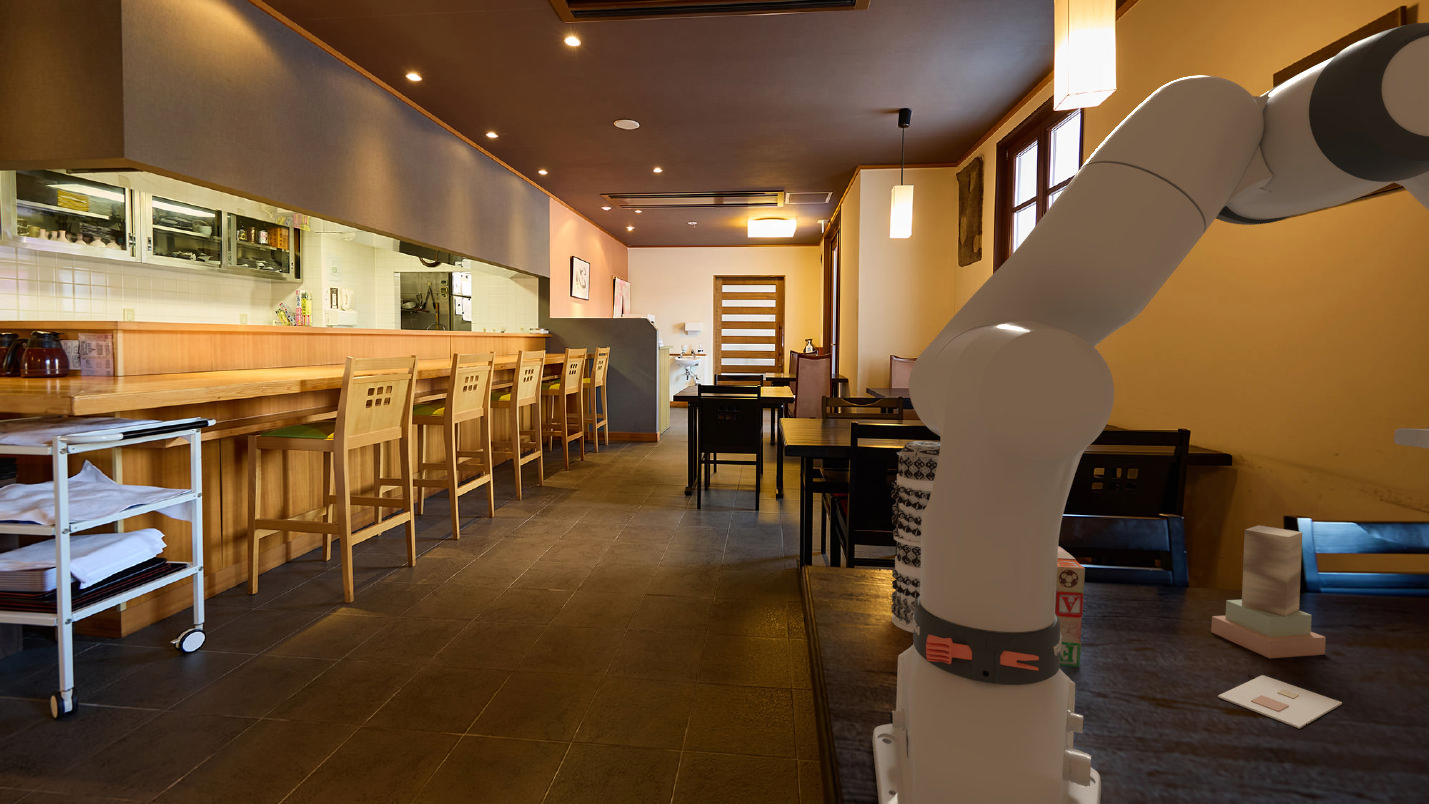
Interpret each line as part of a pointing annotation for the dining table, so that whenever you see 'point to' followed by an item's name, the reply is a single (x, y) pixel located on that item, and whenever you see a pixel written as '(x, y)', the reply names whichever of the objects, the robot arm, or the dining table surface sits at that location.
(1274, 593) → the maple column
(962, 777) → the robot arm
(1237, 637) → the tower base
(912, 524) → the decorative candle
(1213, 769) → the dining table surface
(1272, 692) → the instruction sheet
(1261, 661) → the dining table surface
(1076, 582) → the stack of blocks
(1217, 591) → the dining table surface
